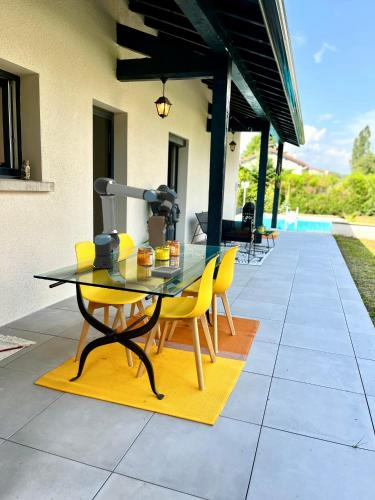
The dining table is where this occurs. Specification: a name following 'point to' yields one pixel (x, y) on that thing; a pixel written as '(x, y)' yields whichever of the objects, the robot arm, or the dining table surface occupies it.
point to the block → (156, 231)
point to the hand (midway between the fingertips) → (155, 232)
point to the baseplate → (165, 271)
